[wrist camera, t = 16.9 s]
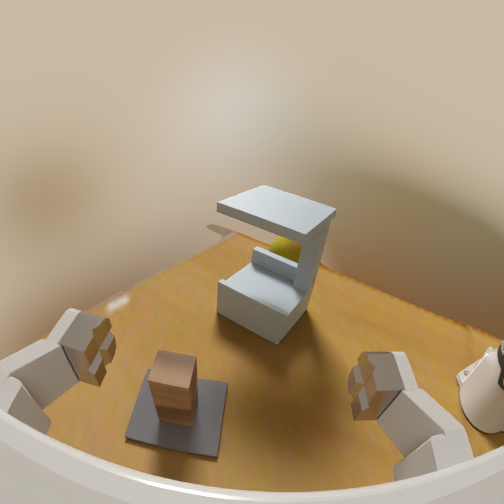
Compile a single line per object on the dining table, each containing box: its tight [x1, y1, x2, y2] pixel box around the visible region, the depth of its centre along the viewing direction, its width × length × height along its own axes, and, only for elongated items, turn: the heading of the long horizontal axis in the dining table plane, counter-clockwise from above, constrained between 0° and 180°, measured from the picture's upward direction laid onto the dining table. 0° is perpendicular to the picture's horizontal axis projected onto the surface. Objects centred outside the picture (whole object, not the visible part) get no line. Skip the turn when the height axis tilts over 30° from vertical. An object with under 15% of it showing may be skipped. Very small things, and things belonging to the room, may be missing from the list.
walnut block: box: [148, 350, 198, 427], centre depth 32 cm, size 4×4×10 cm
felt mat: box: [125, 369, 227, 458], centre depth 34 cm, size 12×12×1 cm
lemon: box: [269, 236, 302, 263], centre depth 68 cm, size 11×8×8 cm
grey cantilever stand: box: [217, 185, 336, 345], centre depth 50 cm, size 13×14×22 cm
